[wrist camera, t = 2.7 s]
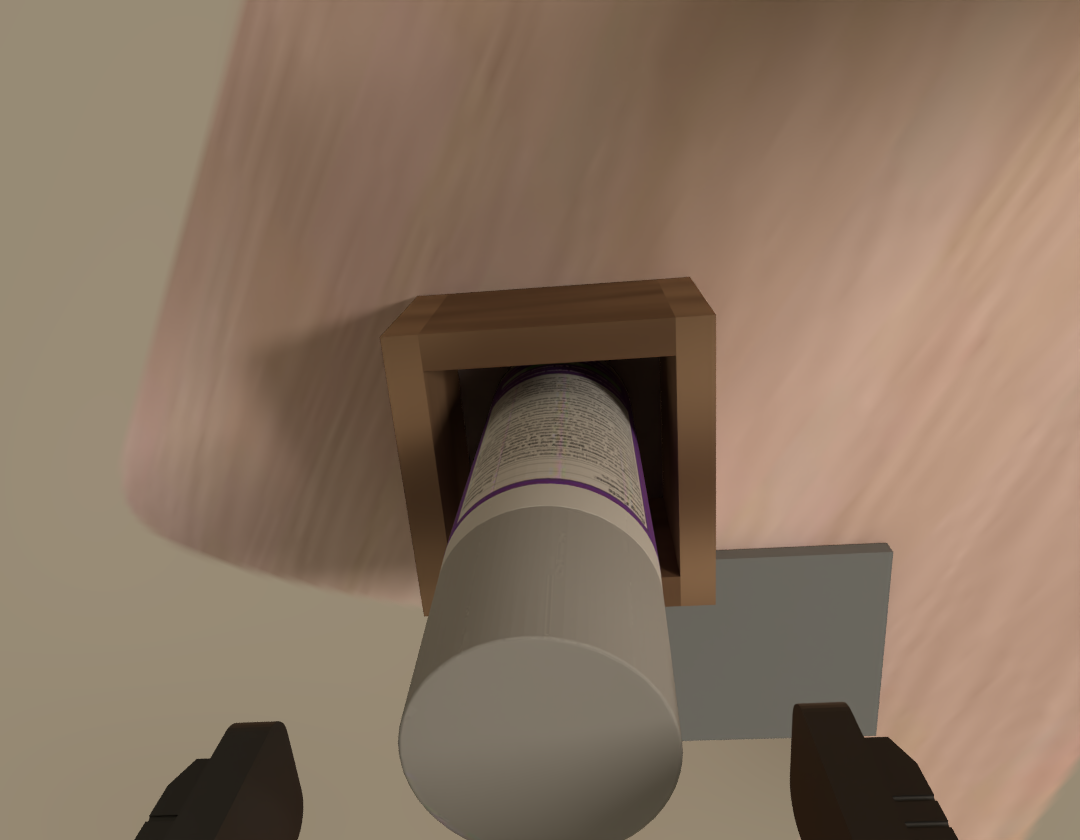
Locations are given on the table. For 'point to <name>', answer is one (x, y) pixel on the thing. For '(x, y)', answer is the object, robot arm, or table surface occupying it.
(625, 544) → the container
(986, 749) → the table surface
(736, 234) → the table surface
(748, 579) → the mat
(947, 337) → the table surface
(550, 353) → the holder
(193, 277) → the table surface
